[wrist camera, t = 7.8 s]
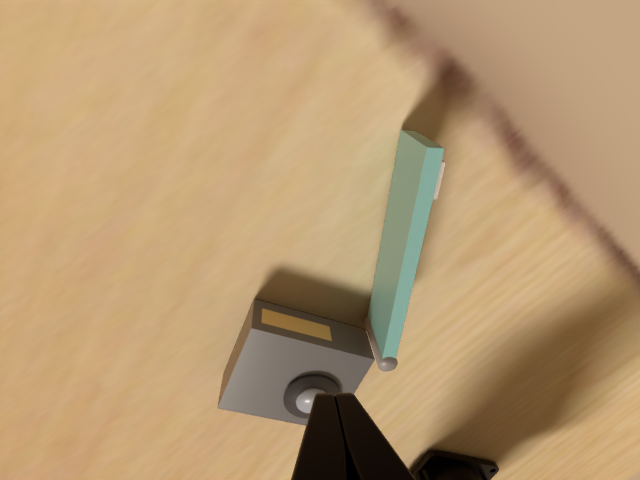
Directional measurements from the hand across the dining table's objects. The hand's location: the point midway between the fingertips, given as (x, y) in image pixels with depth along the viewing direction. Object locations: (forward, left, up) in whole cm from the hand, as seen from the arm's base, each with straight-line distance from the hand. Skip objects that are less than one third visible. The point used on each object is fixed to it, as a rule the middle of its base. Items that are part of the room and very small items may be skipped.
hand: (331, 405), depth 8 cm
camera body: (-3, +9, -12) cm, 15 cm away
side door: (-5, 0, -12) cm, 13 cm away
